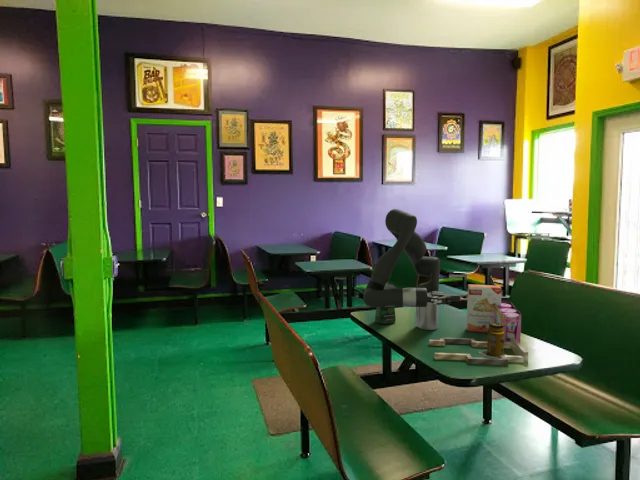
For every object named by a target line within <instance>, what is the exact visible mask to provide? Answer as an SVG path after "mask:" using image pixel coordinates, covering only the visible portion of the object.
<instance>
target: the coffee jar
mask: <svg viewBox="0 0 640 480" xmlns="http://www.w3.org/2000/svg"><path fill="white" fill-rule="evenodd" d="M391 288H397V287H396V286H395V285H393V284H386V285H385V287H384V290H389V289H391ZM374 316H375V317H374V321H375V322H376V323H377V324H380V325H388V324H395V322H396V306H385V307H375V315H374Z"/></svg>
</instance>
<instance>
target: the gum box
mask: <svg viewBox="0 0 640 480" xmlns="http://www.w3.org/2000/svg"><path fill="white" fill-rule="evenodd" d="M494 323H501V324H503V326H504V327H503V329H504V330H503V331H504V342H510V338H515V339H516V340H517V341H518V342H519V343H520V344H521V336H522V333H521V332H522V313H521V312H520V311H519V310H518V309H517V308H516V306H515V305H514V304H513V303H512V302H511V301H501V305H496V304H495V311H494Z"/></svg>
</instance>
